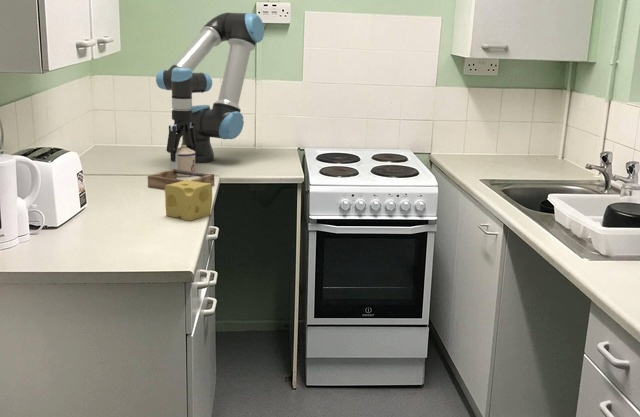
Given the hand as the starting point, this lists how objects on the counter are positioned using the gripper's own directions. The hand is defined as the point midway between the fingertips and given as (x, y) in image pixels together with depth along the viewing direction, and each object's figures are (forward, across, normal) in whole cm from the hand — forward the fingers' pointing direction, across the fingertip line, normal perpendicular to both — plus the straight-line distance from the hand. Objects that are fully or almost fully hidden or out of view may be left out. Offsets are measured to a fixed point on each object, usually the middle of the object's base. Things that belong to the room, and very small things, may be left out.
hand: (182, 167), depth 270 cm
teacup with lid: (+3, -1, 0) cm, 3 cm away
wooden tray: (+3, +16, +11) cm, 20 cm away
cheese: (+4, +47, +35) cm, 59 cm away
